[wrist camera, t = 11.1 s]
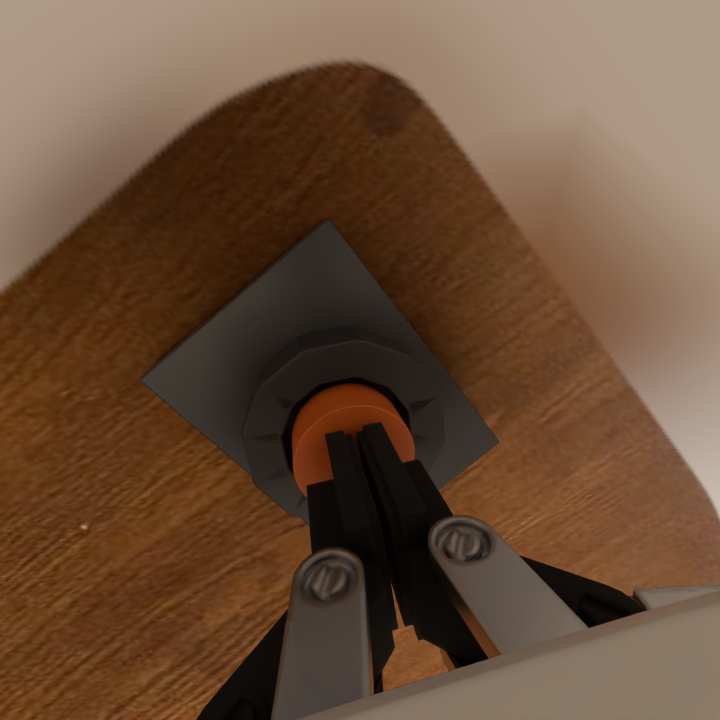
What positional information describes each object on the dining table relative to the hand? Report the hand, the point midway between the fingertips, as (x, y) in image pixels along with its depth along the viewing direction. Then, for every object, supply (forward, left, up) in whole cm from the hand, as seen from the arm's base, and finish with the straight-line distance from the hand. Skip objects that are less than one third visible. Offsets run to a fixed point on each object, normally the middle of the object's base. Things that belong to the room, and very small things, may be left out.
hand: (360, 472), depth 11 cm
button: (0, 0, -2) cm, 2 cm away
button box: (0, 0, -5) cm, 5 cm away
